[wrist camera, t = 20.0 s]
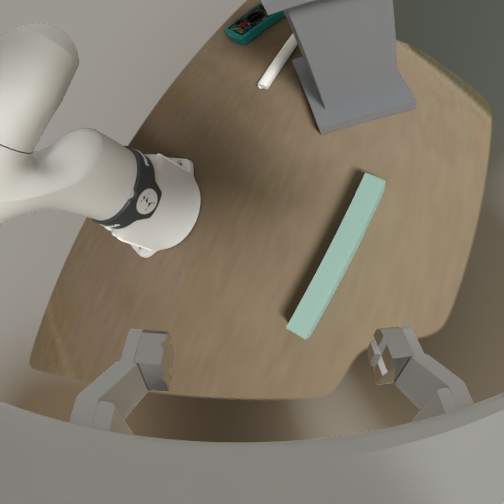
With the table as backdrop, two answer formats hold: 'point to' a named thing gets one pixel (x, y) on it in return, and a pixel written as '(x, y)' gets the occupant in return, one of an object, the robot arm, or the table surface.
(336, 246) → the bar
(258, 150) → the table surface
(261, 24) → the digital multimeter
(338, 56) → the stand
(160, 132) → the table surface
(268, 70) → the white rod
